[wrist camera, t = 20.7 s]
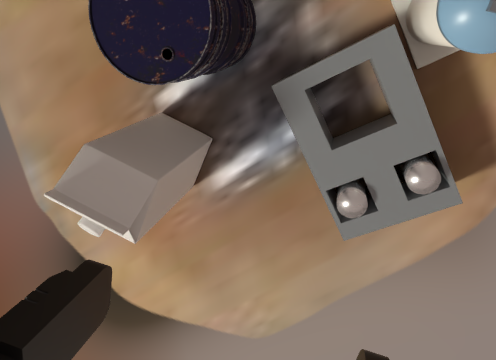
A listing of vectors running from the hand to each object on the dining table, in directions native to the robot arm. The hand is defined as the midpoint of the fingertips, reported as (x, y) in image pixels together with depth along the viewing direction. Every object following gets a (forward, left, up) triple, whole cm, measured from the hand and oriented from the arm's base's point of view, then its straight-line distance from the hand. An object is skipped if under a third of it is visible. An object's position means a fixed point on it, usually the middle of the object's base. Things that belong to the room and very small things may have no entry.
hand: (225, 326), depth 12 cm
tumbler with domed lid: (-4, +15, -33) cm, 36 cm away
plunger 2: (+9, +8, -33) cm, 35 cm away
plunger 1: (+9, +1, -33) cm, 34 cm away
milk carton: (-3, -16, -34) cm, 37 cm away
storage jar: (-14, -5, -34) cm, 37 cm away
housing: (+4, +5, -33) cm, 34 cm away
